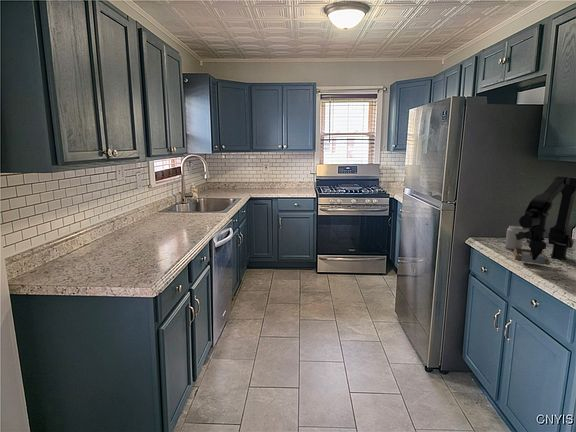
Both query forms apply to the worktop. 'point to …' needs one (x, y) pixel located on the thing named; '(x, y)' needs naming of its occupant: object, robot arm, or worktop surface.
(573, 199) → the robot arm
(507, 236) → the can
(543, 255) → the dark gray box
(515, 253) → the walnut box
